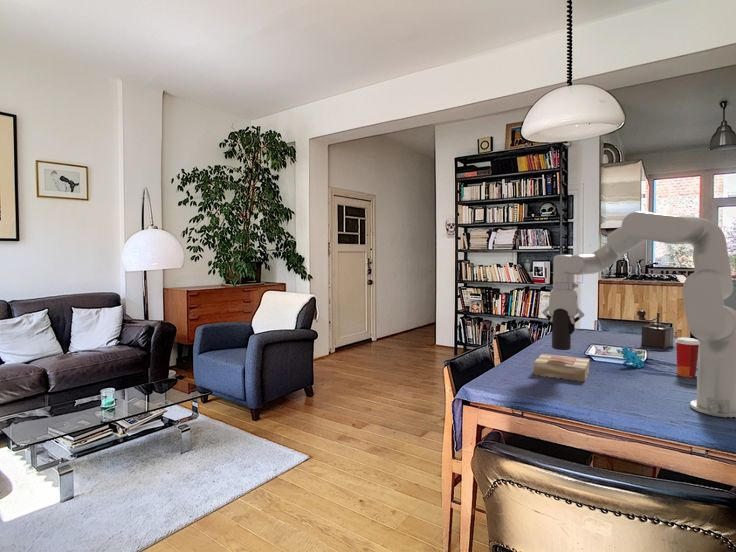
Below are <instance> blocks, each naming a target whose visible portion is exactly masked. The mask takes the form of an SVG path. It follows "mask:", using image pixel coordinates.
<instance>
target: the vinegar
mask: <svg viewBox="0 0 736 552" xmlns="http://www.w3.org/2000/svg"><path fill="white" fill-rule="evenodd" d="M552 322H553V332H552V331H551V348H552V349H554V350H558V351H569V350H571V346H572V345H571V343H572V342H571V341H572V334H570V324H571V320H570V316H568V312H567V311H566V310H564V309H556V310H554V314H553V320H552Z"/></svg>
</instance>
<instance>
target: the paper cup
mask: <svg viewBox="0 0 736 552" xmlns="http://www.w3.org/2000/svg"><path fill="white" fill-rule="evenodd" d="M674 342H675V346H676V351H675V352H676V369H677V370H676V372H677V375H678V376H679V377H683V378H695V377H696V376H697V375H696V374H697V368H698V350H699V342H700V339H698V338H691V337H677V338H676V339H675V341H674Z"/></svg>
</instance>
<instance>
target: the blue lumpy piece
mask: <svg viewBox="0 0 736 552" xmlns="http://www.w3.org/2000/svg"><path fill="white" fill-rule="evenodd" d="M633 351H634V349H633V348H632V347H630V348H629V347H628V346H624V347H622V348H621V351H620V354H622V358H623V359H624V360H625V361H623V363H622V364H623V365H627V364H629V365H630V364H631V366H632V367H633V368H635V367H636V368H637V369H641V368H643V367H644V366H645V365H644V363H645V361H644V360H642V359H643V358H644V356H643V355H642V354H641V355H638V354H639V353H638V351H634V352H633Z"/></svg>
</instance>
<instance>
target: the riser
mask: <svg viewBox="0 0 736 552" xmlns="http://www.w3.org/2000/svg"><path fill="white" fill-rule="evenodd" d="M590 361H591V359H590V358H584V357H577V356H576V357H574V356H566V355H559V354H558V355H557V354H549V353H541V354H539V356H538V357H537V358H536V359H535V361H533V376H538V375H540V377H546V376H548V378H553V377H556V378H555V379H560V378H563V379H562V380H568V379H569V380H570V381H575V380H577V381H576V382H583V381H584V383H585V382H586V380H587V379H588V378H587V377H588V375H589V374H590V369H591V367H590V364H591V362H590ZM569 380H568V381H569Z"/></svg>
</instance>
